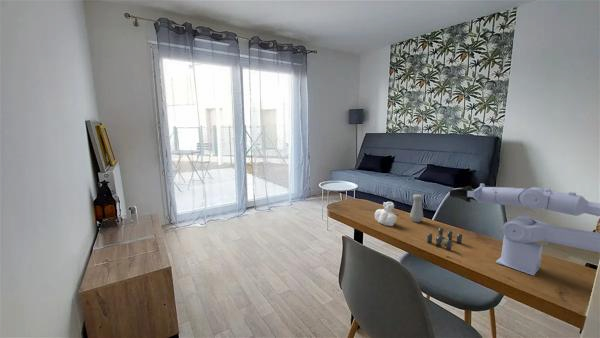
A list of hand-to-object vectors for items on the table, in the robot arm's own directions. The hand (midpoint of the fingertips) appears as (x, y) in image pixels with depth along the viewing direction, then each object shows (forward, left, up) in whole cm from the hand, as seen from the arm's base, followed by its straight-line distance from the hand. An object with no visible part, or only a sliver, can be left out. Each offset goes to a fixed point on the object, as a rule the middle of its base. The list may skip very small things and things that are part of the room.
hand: (455, 193), depth 95 cm
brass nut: (+2, +3, -20) cm, 20 cm away
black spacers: (+1, +3, -19) cm, 20 cm away
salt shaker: (+20, -11, -20) cm, 30 cm away
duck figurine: (+27, +3, -20) cm, 34 cm away
